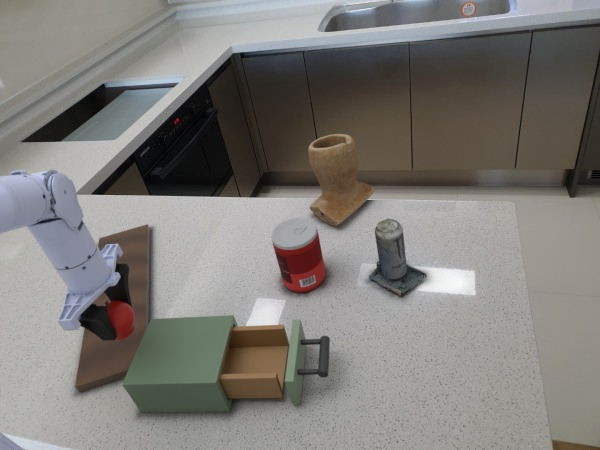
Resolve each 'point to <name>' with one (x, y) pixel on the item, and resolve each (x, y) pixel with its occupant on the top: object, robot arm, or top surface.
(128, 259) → the board
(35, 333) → the top surface
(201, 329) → the cabinet
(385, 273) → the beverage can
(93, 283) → the robot arm
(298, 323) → the drawer
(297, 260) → the canned food
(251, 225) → the top surface
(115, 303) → the apple
